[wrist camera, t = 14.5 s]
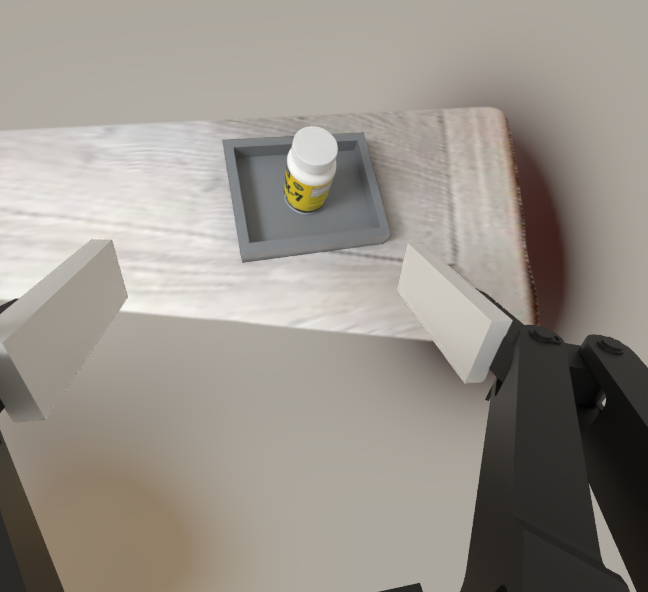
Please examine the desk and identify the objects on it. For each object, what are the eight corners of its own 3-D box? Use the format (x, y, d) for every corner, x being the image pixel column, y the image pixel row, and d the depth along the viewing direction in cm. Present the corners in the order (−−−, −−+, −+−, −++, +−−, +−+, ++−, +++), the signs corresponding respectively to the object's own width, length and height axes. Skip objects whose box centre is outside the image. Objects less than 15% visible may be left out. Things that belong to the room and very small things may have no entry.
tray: (242, 262, 33) (240, 253, 31) (225, 155, 36) (222, 139, 33) (383, 243, 36) (391, 234, 34) (357, 147, 39) (363, 132, 37)
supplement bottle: (275, 186, 35) (278, 130, 27) (312, 172, 36) (325, 114, 28) (296, 222, 34) (305, 176, 26) (333, 206, 36) (352, 157, 28)
